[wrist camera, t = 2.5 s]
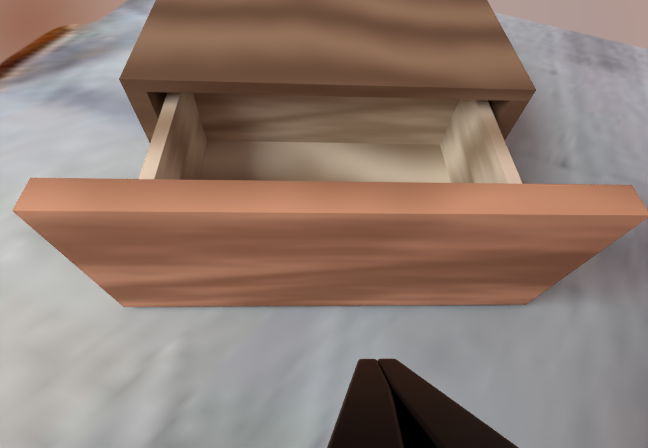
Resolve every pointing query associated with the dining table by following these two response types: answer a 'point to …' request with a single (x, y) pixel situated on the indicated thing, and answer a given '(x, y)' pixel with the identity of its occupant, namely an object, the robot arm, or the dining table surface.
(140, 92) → the cabinet
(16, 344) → the dining table surface
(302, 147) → the drawer
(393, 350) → the dining table surface
